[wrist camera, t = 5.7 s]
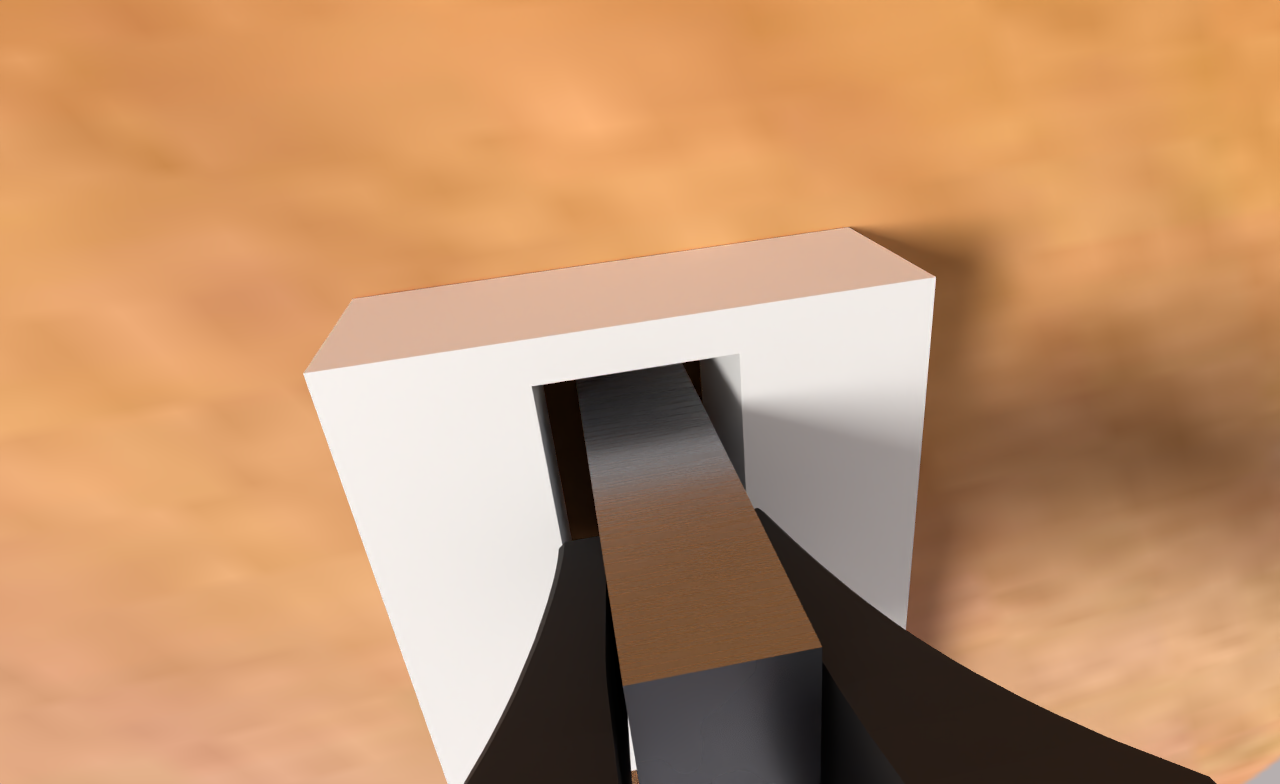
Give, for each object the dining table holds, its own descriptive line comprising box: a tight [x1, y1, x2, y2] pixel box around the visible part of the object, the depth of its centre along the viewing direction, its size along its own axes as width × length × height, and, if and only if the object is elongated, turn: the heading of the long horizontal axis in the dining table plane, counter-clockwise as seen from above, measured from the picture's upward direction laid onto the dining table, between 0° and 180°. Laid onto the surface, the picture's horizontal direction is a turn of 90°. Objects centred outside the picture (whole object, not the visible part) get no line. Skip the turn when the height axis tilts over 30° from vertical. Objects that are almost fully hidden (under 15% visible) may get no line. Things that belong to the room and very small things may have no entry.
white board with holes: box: [303, 227, 936, 784], centre depth 17 cm, size 18×10×4 cm, turn 6°
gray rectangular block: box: [575, 363, 822, 784], centre depth 12 cm, size 5×2×9 cm, turn 6°
